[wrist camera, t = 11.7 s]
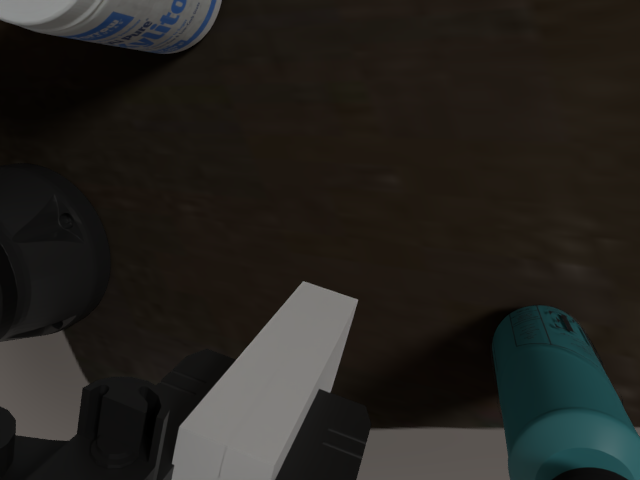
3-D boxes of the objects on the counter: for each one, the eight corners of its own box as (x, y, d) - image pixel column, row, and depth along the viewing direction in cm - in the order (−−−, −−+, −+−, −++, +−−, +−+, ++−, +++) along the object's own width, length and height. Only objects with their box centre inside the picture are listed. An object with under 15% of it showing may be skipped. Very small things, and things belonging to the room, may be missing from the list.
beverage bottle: (477, 359, 41) (490, 581, 22) (505, 280, 39) (547, 451, 20) (564, 387, 40) (656, 647, 21) (598, 308, 38) (734, 516, 19)
